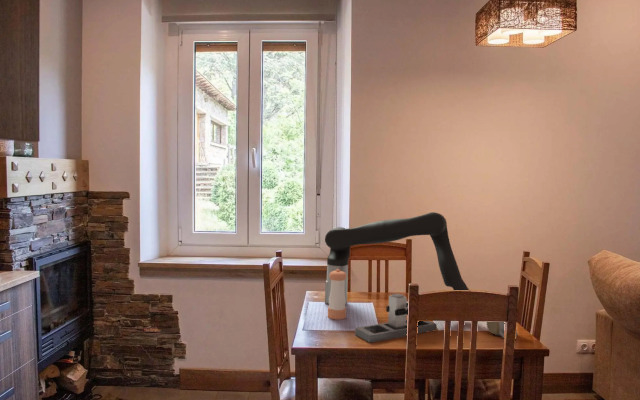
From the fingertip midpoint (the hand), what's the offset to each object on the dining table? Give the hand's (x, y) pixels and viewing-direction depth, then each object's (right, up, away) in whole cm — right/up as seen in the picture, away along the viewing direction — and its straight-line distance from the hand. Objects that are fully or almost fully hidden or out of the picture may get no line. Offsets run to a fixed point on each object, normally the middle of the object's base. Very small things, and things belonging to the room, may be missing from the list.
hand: (391, 310), depth 172 cm
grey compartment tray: (+2, -8, +2) cm, 9 cm away
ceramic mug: (+41, -10, +2) cm, 42 cm away
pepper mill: (-19, -7, +19) cm, 28 cm away
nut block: (+2, -7, +2) cm, 8 cm away
